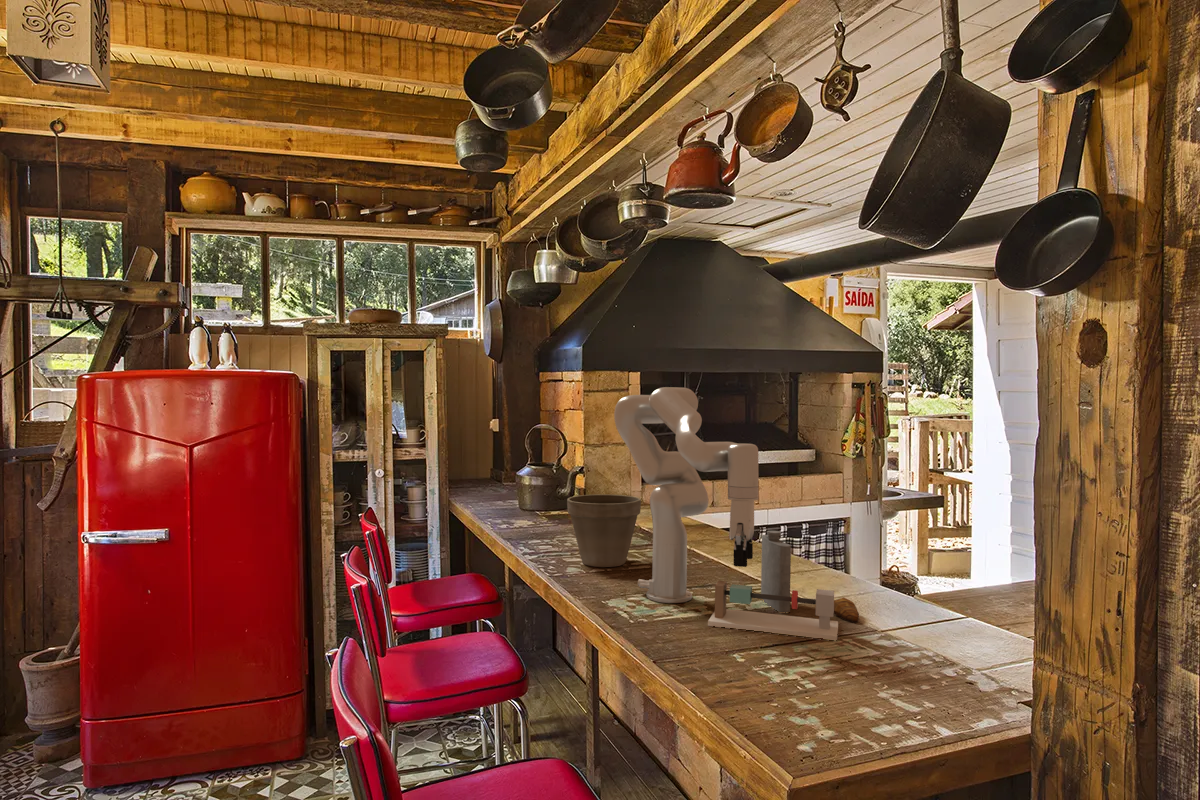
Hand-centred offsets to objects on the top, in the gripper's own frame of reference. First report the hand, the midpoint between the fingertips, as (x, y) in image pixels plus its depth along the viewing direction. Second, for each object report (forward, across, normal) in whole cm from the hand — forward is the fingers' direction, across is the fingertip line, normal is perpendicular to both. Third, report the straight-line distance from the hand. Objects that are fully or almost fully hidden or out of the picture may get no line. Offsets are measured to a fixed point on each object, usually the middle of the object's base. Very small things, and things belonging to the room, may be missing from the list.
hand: (743, 562), depth 180 cm
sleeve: (+10, -1, -1) cm, 10 cm away
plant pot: (+13, -49, -54) cm, 74 cm away
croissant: (+16, -17, +23) cm, 33 cm away
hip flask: (+15, -20, +5) cm, 25 cm away
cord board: (+15, -1, +7) cm, 17 cm away
